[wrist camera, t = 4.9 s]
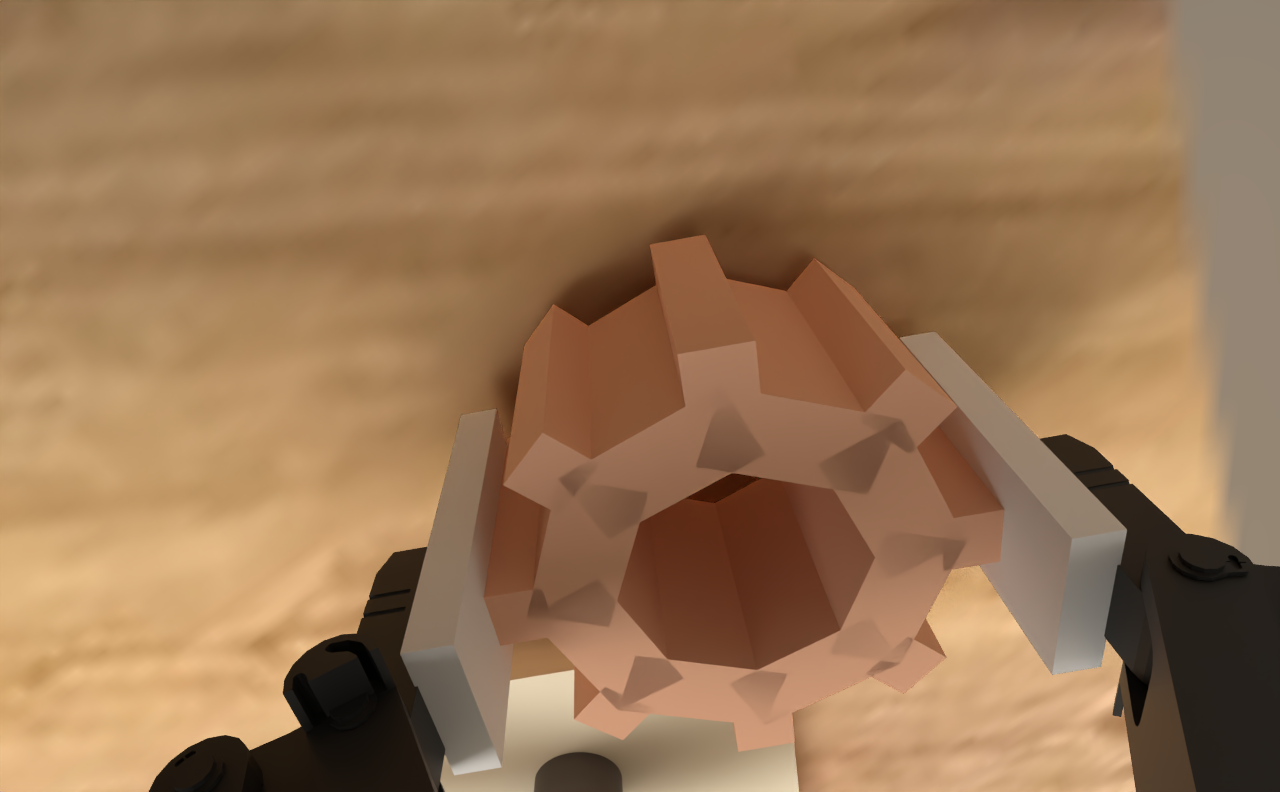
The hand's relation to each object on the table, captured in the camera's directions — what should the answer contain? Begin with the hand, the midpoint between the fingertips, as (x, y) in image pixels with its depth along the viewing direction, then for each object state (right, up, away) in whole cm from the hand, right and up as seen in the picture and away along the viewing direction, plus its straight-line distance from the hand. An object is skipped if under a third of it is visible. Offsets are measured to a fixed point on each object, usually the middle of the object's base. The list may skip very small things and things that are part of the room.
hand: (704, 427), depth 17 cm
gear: (0, 0, 0) cm, 0 cm away
